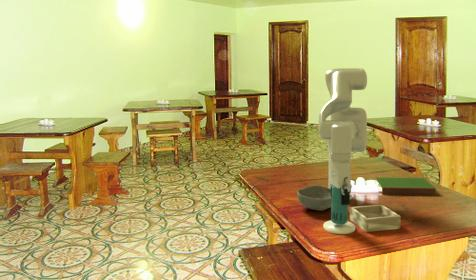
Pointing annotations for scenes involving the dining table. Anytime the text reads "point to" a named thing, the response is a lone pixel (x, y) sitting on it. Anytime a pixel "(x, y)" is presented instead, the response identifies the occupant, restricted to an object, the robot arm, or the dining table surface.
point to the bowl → (315, 197)
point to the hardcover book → (406, 186)
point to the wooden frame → (374, 218)
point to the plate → (339, 227)
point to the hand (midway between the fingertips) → (339, 200)
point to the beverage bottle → (338, 207)
